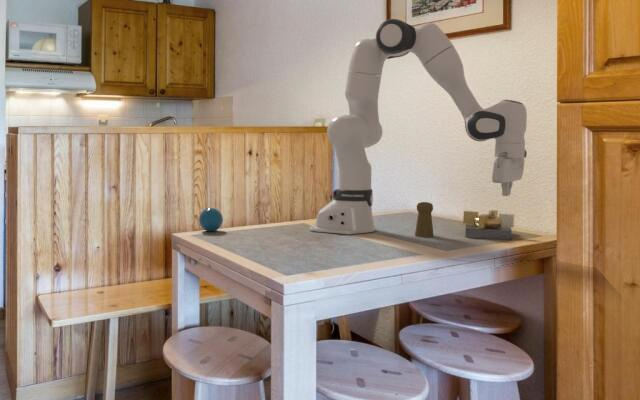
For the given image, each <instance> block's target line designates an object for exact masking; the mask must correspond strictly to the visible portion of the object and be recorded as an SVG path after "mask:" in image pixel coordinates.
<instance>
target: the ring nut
mask: <svg viewBox="0 0 640 400" xmlns="http://www.w3.org/2000/svg"><path fill="white" fill-rule="evenodd" d="M498 212H499V211H498V210H496V209H495V210H494V209H491V210H489V211H488V214H487V213H482V214H480V215H479V211H475V210H473V211H472V210H464V211H463V220H462V221H463V223H462V224H465V225H466V224H474V225H476V226H478V228H483V229H484V228H486V227H511V229H512V228H515V214H511V213H498Z"/></svg>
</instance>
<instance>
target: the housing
mask: <svg viewBox="0 0 640 400" xmlns="http://www.w3.org/2000/svg"><path fill="white" fill-rule="evenodd" d="M512 232H513V231H512V227H486V228H484V229H483V228H478V226H476V225H474V224H465V236H464V237H465V238H466V239H467V238H468V239H488V240H503V241H505V240H506V241H507V240H508V241H512V235H513V234H512Z"/></svg>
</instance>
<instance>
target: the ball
mask: <svg viewBox="0 0 640 400" xmlns="http://www.w3.org/2000/svg"><path fill="white" fill-rule="evenodd" d="M223 222H224V217H223V214H222V213H221V212H220V210H219V209H217V208H214V207H208V208H205V209H203V210H201V212H200V214H199V217H198V223H199V225H200V227H201V229H203V230H204V231H206V232H209V233H210V232H211V233H212V232H216V231H218V230H219V229H221V227H222V225H223Z"/></svg>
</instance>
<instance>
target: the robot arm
mask: <svg viewBox="0 0 640 400" xmlns="http://www.w3.org/2000/svg"><path fill="white" fill-rule="evenodd" d="M409 53H413V54H414V55H415V56H416V57H417V58H418V60H419V62H420V63H421V65H422V66H423V67H424V69H425V71H426V72H427V73H428V75H429V76H430V77H431V78H432V79H433V81H435V82H436V83H437V85H439V86H440V87H441V88H442V89H443V90H444V91H446V93H447V94H448V95H449V96H450V97H451V99H452V101H453V102H454V104H455V105H456V107H457V109H458V111H459V112H460V113H461V115H462V117H463V120H464V128H465V132H466V134H467V136H468V137H469V138H470V139H471V140H473V141H476V142H486V141H489V140H493V139H494V140H495V145H494V146H495V147H494V157H495V159H494V161H493V167H492V174H491V179H492V180H491V181H492V183H493V184H500V187H501V195H502V197H507V196H510V195H511V190H512V187H513V185H514V182H516V181H521V180H522V177H523V175H524V167H525V159H526V158H527V154H528V153H527V150H526V148H525V146H526V140H525V134H526V131H527V121H528V120H527V118H528V116H527V115H528V113H527V108H526V106H525V104H523V103H522V102H520V101H517V100H512V99H501V100H500V101H499V102H498V103H495V104H493V105H492V106H489V107H486V108H483V107H482V106H481V105H480V103H479V102H478V101H477V99H476V98H475V96H474V94H473V92H472V90H471V89H470V87H469V86H468V83H467V80H466V78H465V76H466V75H465V70H464V65H463V61H462V59H461V57H460V55H459V52H458V51H457V49H456V47H455V46H454V44H453V42H452V41H451V40H450V39H449V37H448V36H447V35H446V33H445V32H444V31H443V30H442V29H441V28H440V27H439V26H438V25H437V24H436V23H434V22H428V23H423V24H422V25H419V26H417V27H416V28H415V27H414V25H411V24H409V23H407V22H405V21H403V20H401V19H397V18H392V19H391V18H390V19H387V20H385V21H383V22H382V23H381V24H380V25H379V26H378V28H377V30H376V33H375V38H364V39H363V38H362V39H361V40H358V41H357V42H356V43H355V45H354V48H353V50H352V54H351V58H350V59H349V60H350V61H349V66H348V71H347V77H346V84H345V91H344V94H345V95H344V97H345V99H346V101H347V104H348V113H349V114H344V115H340V116H337V117H334V118H333V119H332V120H331V121H330V122H329V123H328V125H327V129H326V136H327V138H328V141H329V142H330V143H331V145H332V146H333V149H334V151H335V152H334V153H335V156H336V159H337V160H336V161H337V164H338V165H337V166H338V188H335V189H334V190H333V191H332V198H333V199H332V200H331V201H329V202H328V203H327V204H325V206H324V207H322V208H321V209H320V210H319V211H318V213H317V216H316V219H315V223H314V224H311V225H310V226H309V231H311V232H319V233H331V234H342V235H354V234H365V233H372V232H373V233H374V232H375V231H376V226H375V224H374V217H373V208H372V207H373V202H374V201H373V200H374V195H373V194H374V193H373V189H372V165H371V163H370V162H369V160H368V157H367V153H366V149H367V148H370V147H373V146H374V145H377V144H378V143H379V142H380V141H381V139H382V136H383V127H382V124H381V123H380V117H379V105H378V104H379V94H380V87H381V80H382V75H383V68H384V64H385V61H386V60H388V59H394V58H400V57H404V56H406V55H408V54H409Z"/></svg>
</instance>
